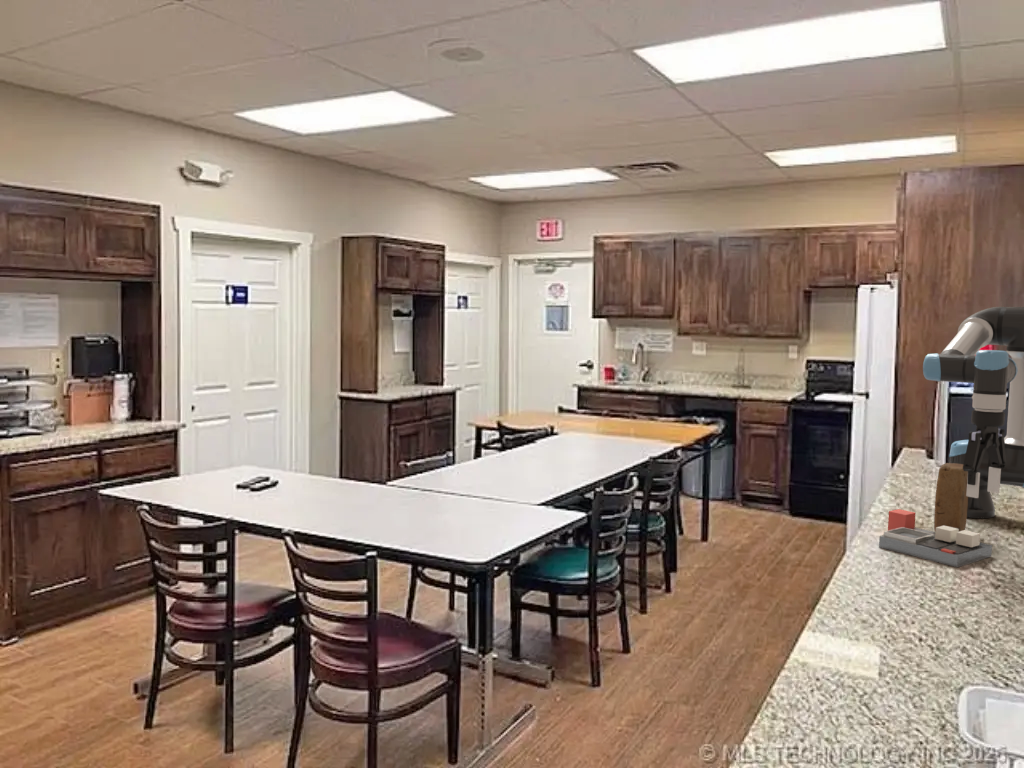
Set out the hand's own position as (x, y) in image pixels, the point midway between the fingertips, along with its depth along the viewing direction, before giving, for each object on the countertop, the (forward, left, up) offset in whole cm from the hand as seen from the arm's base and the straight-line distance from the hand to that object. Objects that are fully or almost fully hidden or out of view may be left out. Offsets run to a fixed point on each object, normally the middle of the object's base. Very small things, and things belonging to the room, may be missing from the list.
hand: (982, 494), depth 221 cm
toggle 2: (+6, 0, -12) cm, 14 cm away
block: (-14, -15, -16) cm, 26 cm away
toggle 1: (+6, -5, -12) cm, 15 cm away
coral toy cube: (+1, -21, -16) cm, 26 cm away
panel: (+8, -7, -16) cm, 19 cm away
